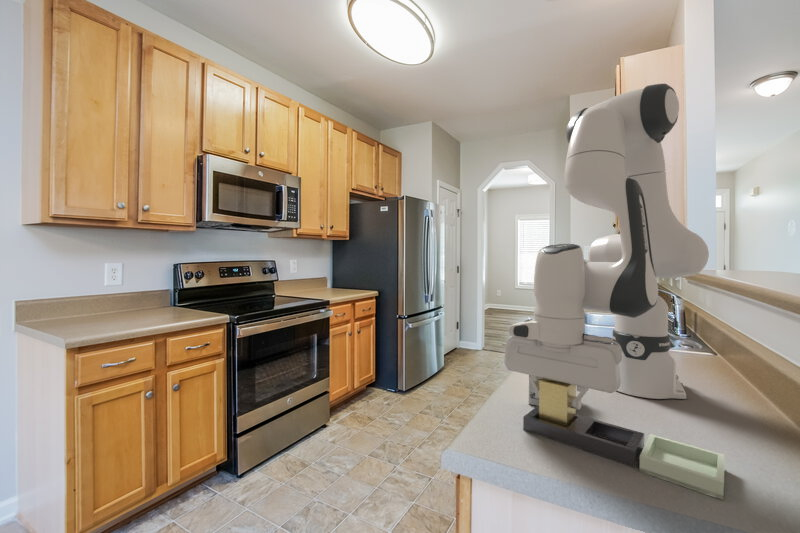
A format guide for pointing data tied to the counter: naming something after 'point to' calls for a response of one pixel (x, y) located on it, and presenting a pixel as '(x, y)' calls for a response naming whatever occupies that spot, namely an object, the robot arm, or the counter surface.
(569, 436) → the dark grey flat frame
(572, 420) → the tan rectangular block
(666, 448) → the tray
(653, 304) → the robot arm
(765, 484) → the counter surface
